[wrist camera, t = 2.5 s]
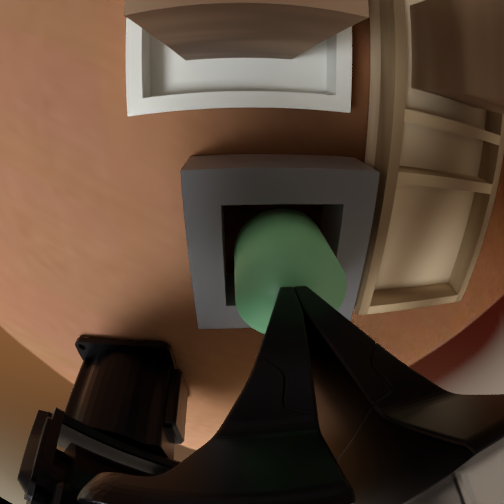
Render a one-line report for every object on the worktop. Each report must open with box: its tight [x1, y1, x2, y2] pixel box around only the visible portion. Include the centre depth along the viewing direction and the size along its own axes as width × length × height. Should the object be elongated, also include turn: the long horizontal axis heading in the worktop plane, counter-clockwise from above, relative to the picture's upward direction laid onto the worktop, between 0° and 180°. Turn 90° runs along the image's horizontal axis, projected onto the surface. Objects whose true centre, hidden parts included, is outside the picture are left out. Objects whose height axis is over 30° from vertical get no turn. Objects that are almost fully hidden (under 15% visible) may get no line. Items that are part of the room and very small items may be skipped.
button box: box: [181, 154, 380, 329], centre depth 12 cm, size 7×7×2 cm
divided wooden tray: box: [354, 0, 504, 315], centre depth 11 cm, size 7×17×2 cm, turn 0°
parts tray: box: [126, 18, 352, 116], centre depth 8 cm, size 8×8×2 cm
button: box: [234, 208, 347, 334], centre depth 11 cm, size 4×4×3 cm
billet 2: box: [410, 0, 504, 114], centre depth 6 cm, size 4×4×7 cm
